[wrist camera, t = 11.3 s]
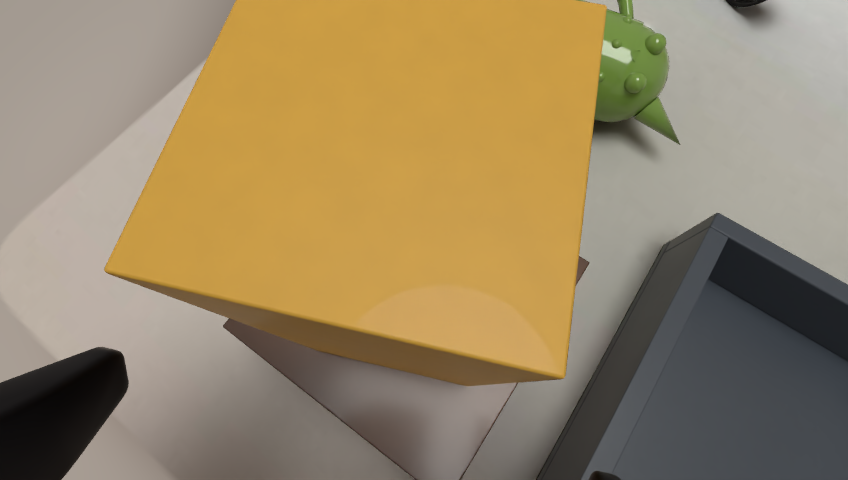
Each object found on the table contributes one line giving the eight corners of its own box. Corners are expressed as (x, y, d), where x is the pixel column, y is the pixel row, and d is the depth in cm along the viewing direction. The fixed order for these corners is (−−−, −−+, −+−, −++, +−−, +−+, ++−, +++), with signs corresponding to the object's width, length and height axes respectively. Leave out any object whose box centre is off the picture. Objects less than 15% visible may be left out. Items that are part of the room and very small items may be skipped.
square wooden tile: (441, 479, 18) (446, 503, 14) (260, 338, 20) (221, 326, 16) (559, 285, 20) (589, 262, 17) (390, 178, 22) (383, 135, 19)
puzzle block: (468, 386, 15) (566, 380, 5) (317, 350, 16) (100, 271, 5) (495, 240, 17) (608, 4, 7) (358, 211, 17) (261, -55, 7)
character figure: (529, -132, 19) (798, -44, 18) (524, -59, 24) (733, 16, 23) (420, 108, 21) (660, 214, 19) (437, 130, 26) (627, 216, 24)
